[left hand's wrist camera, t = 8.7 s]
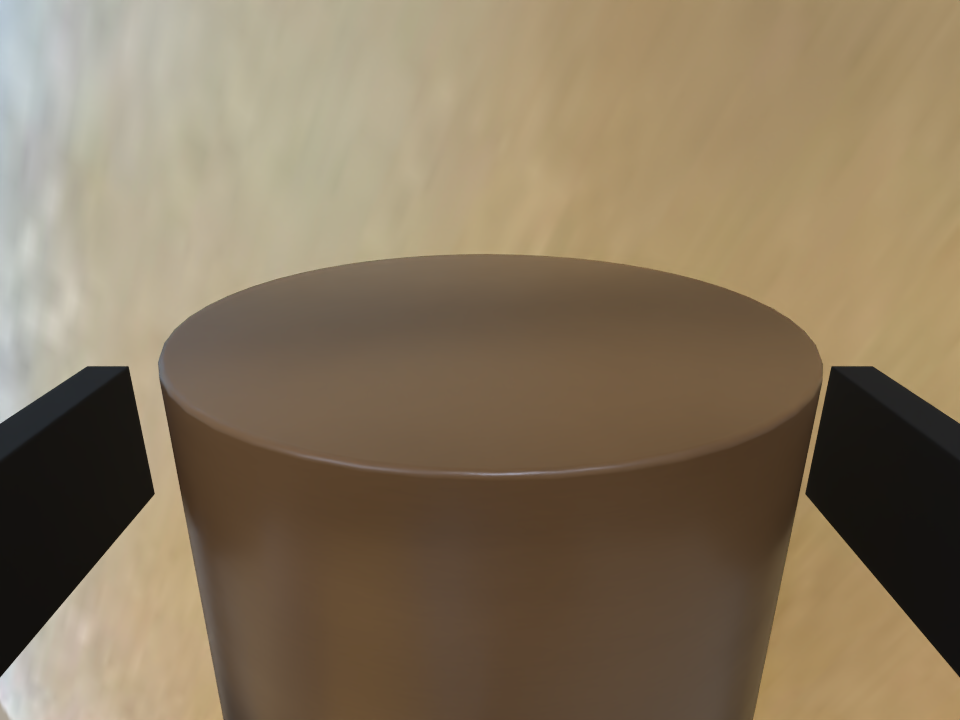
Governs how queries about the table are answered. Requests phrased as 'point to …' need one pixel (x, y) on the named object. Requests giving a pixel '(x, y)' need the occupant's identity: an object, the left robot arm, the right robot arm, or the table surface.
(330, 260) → the table surface
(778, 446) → the rod
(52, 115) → the table surface
